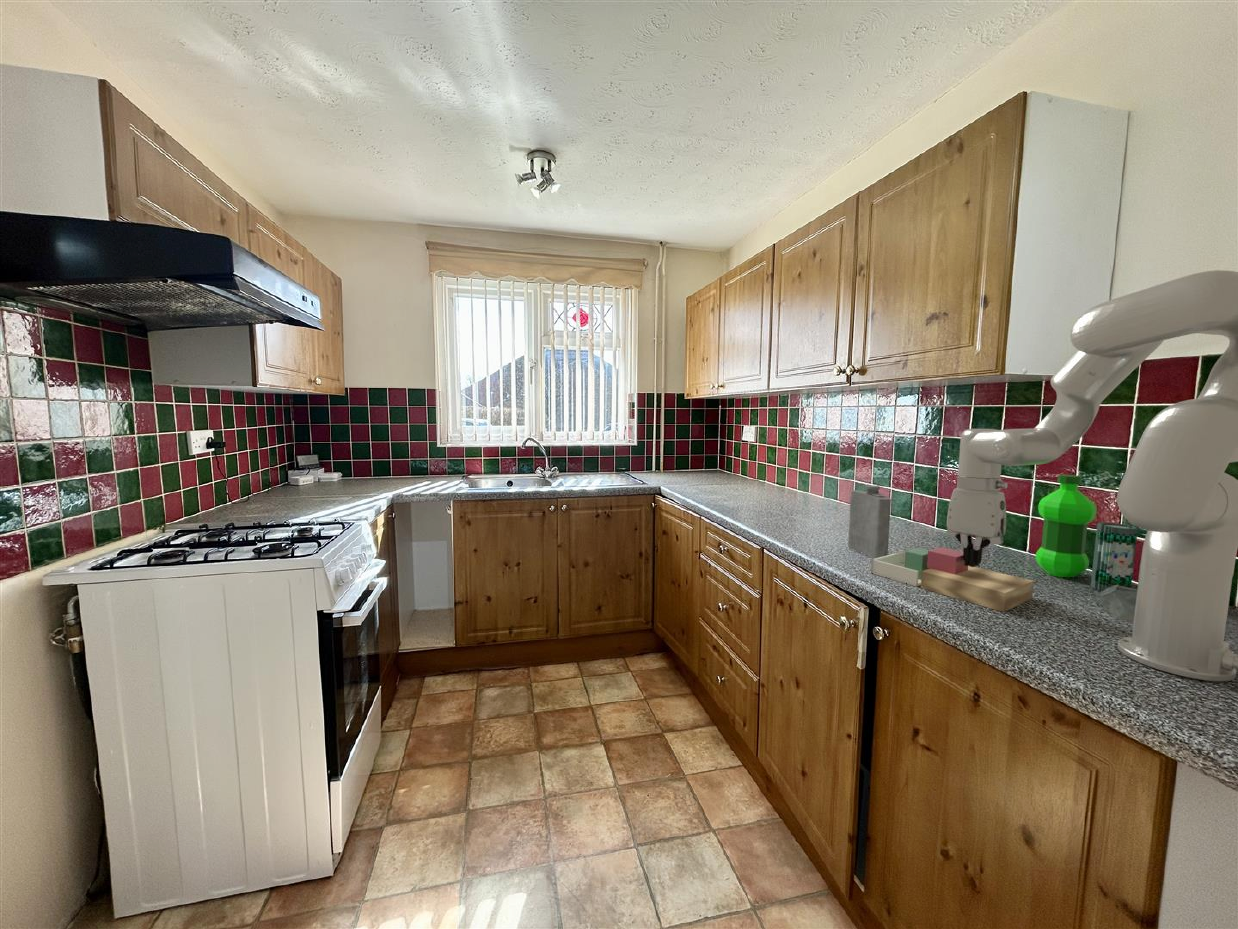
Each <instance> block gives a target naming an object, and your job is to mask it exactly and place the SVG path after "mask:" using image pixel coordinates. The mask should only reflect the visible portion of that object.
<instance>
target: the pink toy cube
mask: <svg viewBox="0 0 1238 929" xmlns="http://www.w3.org/2000/svg"><path fill="white" fill-rule="evenodd" d="M928 550H929V551H928V559H927V568H931V569H935V570H939V571H943V572H947V573H951V574H958V573H961V572H964V571H967V570H968V566H966V565H964V562H965V561H964V560H963V551H961V550H956V549H952V548H951V549H950V548H946V547H942V546H941V547H938V548H934V549H928Z"/></svg>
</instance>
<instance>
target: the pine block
mask: <svg viewBox="0 0 1238 929" xmlns="http://www.w3.org/2000/svg"><path fill="white" fill-rule="evenodd" d="M1034 582H1035V581H1034V580H1032V579H1028V578H1023V577H1019V576H1015V575H1010V574H1005V573H1002V572H999V571H993V570H990V569H985V568H982V567H981V568H980V567H977V566H975V567H970V566H968V570H967V571H964V572H961V573H958V574H951V573H947V572H943V571H939V570H935V569H931V568H930V569H927V570H924V571H922V577H921V585H920V589H924V590H927V591H930V592H934V593H937V594H940V595H944V596H947V597H951V598H953V599H957V600H961V601H965V602H967V601H968V603H972V604H975V605H976V606H977V605H978V606H981V607H985V608H989V609H992V610H995V611H999V612H1002V613H1005V612H1008V611H1009V610H1011V609H1013V608H1015V607H1017V606H1019V605H1021V604H1023V603H1027V601H1030V600H1032V599H1033V593H1034V591H1033V590H1034V584H1035V583H1034Z"/></svg>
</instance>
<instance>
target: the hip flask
mask: <svg viewBox="0 0 1238 929" xmlns="http://www.w3.org/2000/svg"><path fill="white" fill-rule="evenodd" d="M864 486H865V487H864V488H865V489H866V490H865V491H863V490H860V489H859V490H858V489H856V490H855V489H851V490H850V497H849V498H850V500H849V520H848V524H849V525H848V538H847V540H848V542H847V548H848V547H849V548H851V549H854V550H856V551H858V552H862V553H863V554H865V555H867V556H868V557H867V556H866V557H867V558H869V557H870V558H872V559H875V558H879V557H883V556H887V555H889V554H888V553H889V537H890V524H891V523H890V521H891V507H892V506H891V505H892V498H890V497H888V496H886V495H884V494H881V493H880V492H879V490H880V487H881V486H880V485H874V484H872V485H871V484H870V485H868V484H867V485H864ZM856 551H855V552H856ZM858 552H857V553H858ZM863 554H862V555H863ZM865 555H864V556H865ZM870 558H869V559H870ZM872 559H871V560H872Z"/></svg>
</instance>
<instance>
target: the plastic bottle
mask: <svg viewBox="0 0 1238 929" xmlns="http://www.w3.org/2000/svg"><path fill="white" fill-rule="evenodd" d="M1082 479H1083V476H1080V475H1076V474H1075V475H1074V474H1058V475H1057V480H1056V481H1057V483H1058V484H1059V489H1057V490H1055V491H1052V492H1051V493H1049V494H1047V495H1046V496H1044V497H1042V498H1041V499H1040V500H1039V503H1038V505H1037V507H1038V508H1037V509H1038V514H1039V515H1040V516H1041V517H1042V518H1043V526H1042V538H1041V540H1042V541H1041V546H1040V547H1039V548H1038V550H1037V551H1036V553H1035V561H1036V563H1037V565H1039V567H1040V568H1042V570H1044V571H1045V573H1046V572H1047V573H1046V574H1048V575H1050V576H1053V577H1057V578H1063V577H1073V578H1075V577H1076V576H1078V575H1081V574H1082V573H1084V572H1085V571H1087V569H1088V568H1089V566H1090V559H1089V558H1088V557H1089V556H1088V555H1087V554H1086V543H1087V532H1088V524H1089V523H1091V522H1093V521H1094V520H1095V518H1096V516H1097V512H1098V511H1097V506H1096V504H1095V503H1094V502H1093V501H1092V500H1091V499H1090V498H1089V497H1087V496H1086V495H1085V494H1084V493H1082V492H1080V491H1079V485H1082Z"/></svg>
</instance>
